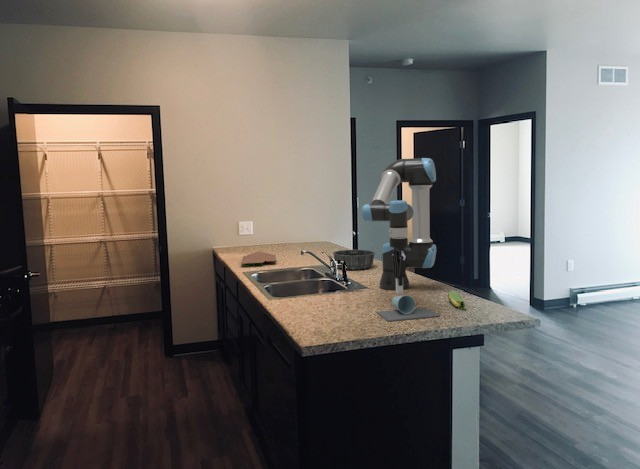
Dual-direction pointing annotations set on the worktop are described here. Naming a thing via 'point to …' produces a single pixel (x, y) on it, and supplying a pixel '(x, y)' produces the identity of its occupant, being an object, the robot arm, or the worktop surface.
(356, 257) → the bundt pan
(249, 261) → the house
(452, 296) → the edible corn
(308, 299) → the worktop surface
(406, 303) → the cup
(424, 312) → the mat
